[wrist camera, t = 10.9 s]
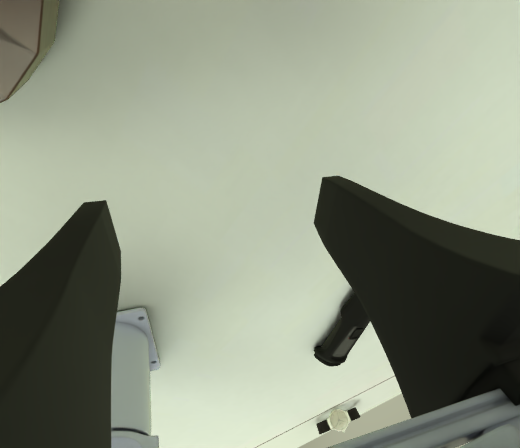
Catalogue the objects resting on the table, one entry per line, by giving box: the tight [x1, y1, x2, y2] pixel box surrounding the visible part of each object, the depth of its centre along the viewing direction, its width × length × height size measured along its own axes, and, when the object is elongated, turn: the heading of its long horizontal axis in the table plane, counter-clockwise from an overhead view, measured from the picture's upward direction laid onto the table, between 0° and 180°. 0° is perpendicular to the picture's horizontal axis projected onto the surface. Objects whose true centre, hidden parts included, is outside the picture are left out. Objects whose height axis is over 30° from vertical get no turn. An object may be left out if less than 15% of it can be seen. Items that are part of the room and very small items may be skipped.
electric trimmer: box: [314, 293, 370, 366], centre depth 36 cm, size 4×16×3 cm, turn 163°
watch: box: [316, 408, 360, 434], centre depth 55 cm, size 8×5×4 cm, turn 102°
